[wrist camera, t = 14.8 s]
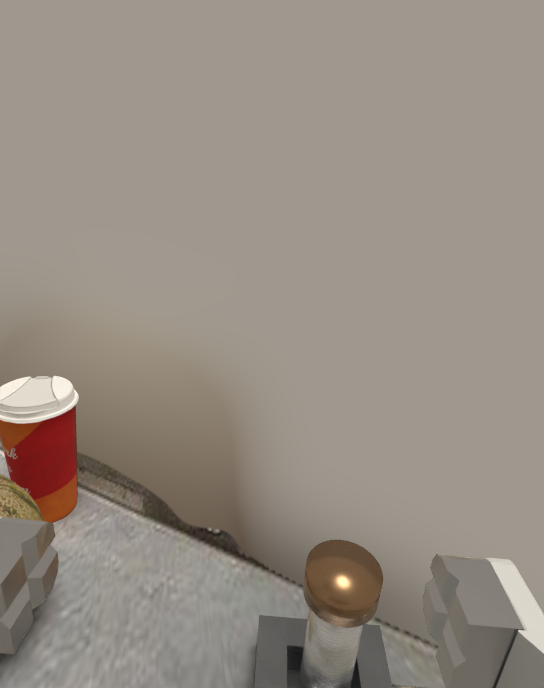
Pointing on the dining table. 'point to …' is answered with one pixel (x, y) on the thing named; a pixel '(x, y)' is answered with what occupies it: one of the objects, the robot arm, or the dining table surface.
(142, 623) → the dining table surface
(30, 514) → the cantaloupe
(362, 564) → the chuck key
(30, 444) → the coffee cup
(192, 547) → the dining table surface
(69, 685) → the dining table surface
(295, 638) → the block
